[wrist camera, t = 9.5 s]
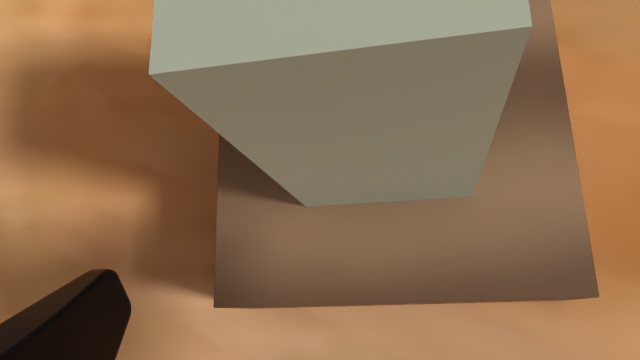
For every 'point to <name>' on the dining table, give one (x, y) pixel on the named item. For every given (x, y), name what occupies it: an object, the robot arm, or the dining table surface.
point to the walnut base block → (423, 220)
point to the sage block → (347, 88)
